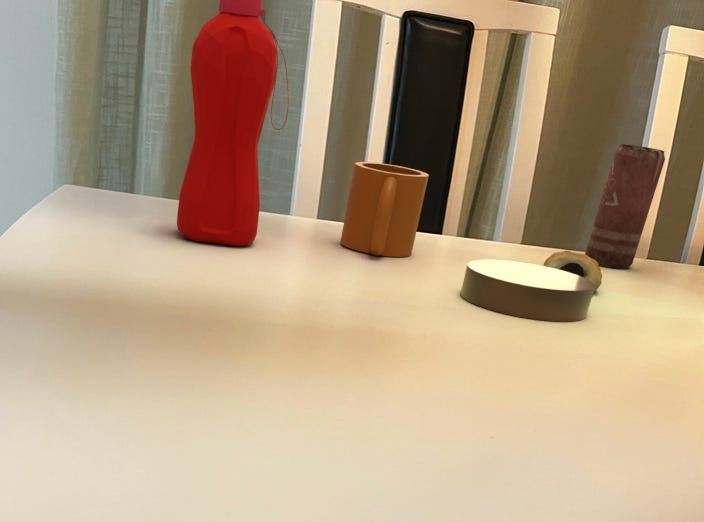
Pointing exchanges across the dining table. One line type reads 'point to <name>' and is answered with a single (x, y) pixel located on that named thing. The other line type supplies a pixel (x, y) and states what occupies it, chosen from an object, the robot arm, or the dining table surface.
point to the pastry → (576, 265)
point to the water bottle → (228, 124)
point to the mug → (383, 209)
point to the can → (624, 205)
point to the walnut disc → (527, 290)
